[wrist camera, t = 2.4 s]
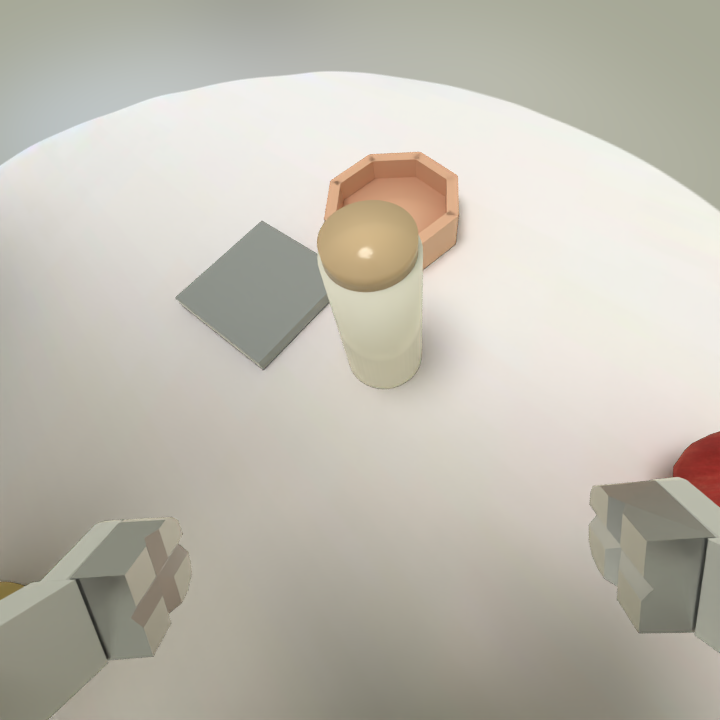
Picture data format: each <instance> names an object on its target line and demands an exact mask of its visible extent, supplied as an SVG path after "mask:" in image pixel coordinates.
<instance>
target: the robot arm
mask: <svg viewBox="0 0 720 720" xmlns="http://www.w3.org/2000/svg"><path fill="white" fill-rule="evenodd" d="M590 506H591V507H592V509H593V510H594V511H595V513H596V514H597V515H596V517H595V518H594V519H593V520H592V521H591V523H590V524H589V544H590V548H591V553H592V556H593V559H594V561H595V564H596V566H597V568H598V570H599V571H600V573H601V575H602V576H603V578H604V579H606V580H607V581H609V582H610V583H612V584H614V585H615V586H617V587H618V588H617V600H618V602H619V603H620V605H621V606H622V608H623V610H624V611H625V613H626V614H627V616H628V617H629V619H630V621H631V622H632V624H633V625H634V627H635V628H636V630H637V632H638V633H685V632H695V636H697V637H698V638H699V639H701V640H702V641H703V642H705V643H706V644H708V645H709V646H710V647H712V648H713V649H714V650H716V651H717V652H719V653H720V507H719V506H717V505H716V504H715V503H714V502H713V501H711V500H710V499H709V498H708V497H707V496H705V495H704V494H703V493H702V492H701V491H699V490H698V489H697V488H696V487H695V486H693V485H692V484H691V483H690V482H689V481H687V480H686V479H683V478H680V477H672V478H663V479H654V480H649V481H640V482H629V483H617V484H605V485H594V486H593V487H592V489H591V492H590ZM182 535H183V533H182V530H181V527H180V524H179V521H178V520H177V519H175V518H173V517H159V518H140V519H126V520H123V519H122V520H109V521H102V522H100V523H97V524H95V525H94V526H93V527H92V528H91V529H90V530H89V531H88V532H87V533H86V534H85V535H84V537H83V538H82V539H81V540H80V541H79V542H78V543H77V544H76V545H75V546H74V547H73V548H72V549H71V550H70V551H69V552H68V553H67V554H66V555H65V556H64V557H63V558H62V559H61V560H60V561H59V562H58V563H57V565H56V566H55V567H54V568H53V569H52V570H51V571H50V572H49V573H48V574H47V575H46V576H45V577H44V578H43V579H42V580H41V581H40V582H32V583H30V584H28V585H26V586H25V587H23V588H21V589H19V590H18V591H16V592H14V593H12V594H10V595H9V596H7V597H5V598H3V599H2V600H0V720H48V719H49V718H50V717H51V716H52V715H53V714H54V713H55V712H56V711H58V710H59V709H60V708H61V707H62V706H63V705H64V704H65V703H66V702H67V701H68V700H69V699H70V698H71V697H72V696H74V695H75V694H76V693H77V692H78V691H79V690H80V689H81V688H82V687H83V686H84V685H85V684H86V683H87V682H88V681H89V680H91V679H92V678H93V677H94V676H95V675H96V674H97V673H98V672H99V671H100V670H101V669H102V668H103V667H104V666H105V665H107V664H108V660H118V659H130V658H142V657H154V655H155V653H156V651H157V649H158V647H159V646H160V644H161V642H162V640H163V638H164V636H165V634H166V632H167V631H168V629H169V627H170V625H171V620H170V616H169V613H170V612H172V611H173V610H174V609H175V608H176V607H178V606H179V605H180V604H181V603H182V602H183V600H184V598H185V596H186V594H187V592H188V590H189V585H190V580H191V575H192V571H191V560H190V557H189V553H188V552H187V551H186V550H185V549H184V548H183V547H182V546H181V545H179V544H178V543H179V541H180V539H181V537H182Z"/></svg>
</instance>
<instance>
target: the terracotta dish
mask: <svg viewBox="0 0 720 720" xmlns="http://www.w3.org/2000/svg"><path fill="white" fill-rule="evenodd" d="M365 200H381V201H386V202H390V203H393V204H396V205H398V206H400V207H402V208H403V209H405V210H406V211H407V212H408V213H409V214H410V215H411V216H412V217H413V219H414V220H415V222H416V225H417V228H418V235H419V236H420V239H421V241H422V246H423V269H425V268H426V267H427V266H428V265H430V264H431V263H432V262H433V261H435V260H436V259H437V258H439V257H440V256H441V255H442V254H444V253H445V252H446V251H448V250H449V249H450V248H451V247H453V246H454V245H455V244H456V236H457V227H458V218H459V201H458V176H457V175H456V174H454V173H453V172H451V171H450V170H448V169H447V168H445V167H443V166H442V165H440V164H439V163H437V162H435V161H434V160H432V159H431V158H429V157H428V156H426V155H424V154H423V153H421V152H407V153H387V154H370V155H368V156H366V157H365V158H363V159H362V160H360V161H359V162H357V163H356V164H354V165H353V166H351V167H350V168H349V169H347V170H346V171H344V172H343V173H341V174H340V175H338V176H337V177H335V178H334V179H332V180H331V181H330V186H329V192H328V198H327V205H326V211H325V217H324V220H325V221H326V220H327V219H328V218H329V217H330V216H331V215H332V214H333V213H334V212H336V211H337V210H339V209H340V208H342V207H344V206H346V205H349V204H352V203H355V202H359V201H365Z"/></svg>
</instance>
